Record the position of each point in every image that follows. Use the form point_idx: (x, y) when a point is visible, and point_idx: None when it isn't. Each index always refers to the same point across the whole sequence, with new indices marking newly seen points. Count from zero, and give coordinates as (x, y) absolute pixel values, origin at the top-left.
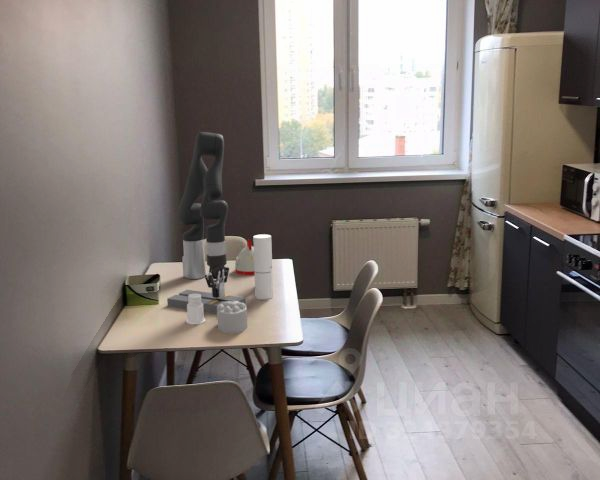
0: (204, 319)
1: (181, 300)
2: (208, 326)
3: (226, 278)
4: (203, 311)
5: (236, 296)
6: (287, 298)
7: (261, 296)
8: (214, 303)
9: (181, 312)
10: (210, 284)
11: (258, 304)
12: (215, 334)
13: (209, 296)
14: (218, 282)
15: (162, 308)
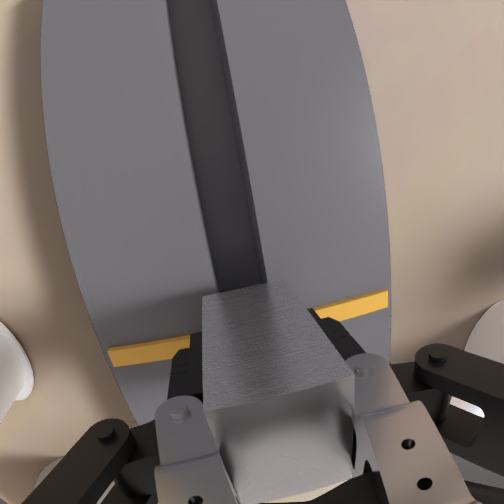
0: (26, 388)
1: (42, 55)
2: (17, 437)
3: (449, 437)
4: (1, 420)
5: (388, 361)
6: (478, 413)
7: None
8: (153, 365)
9: (5, 158)
10: (115, 469)
11: None
12: (16, 481)
13: (282, 170)
14: (293, 463)
15: (18, 3)
